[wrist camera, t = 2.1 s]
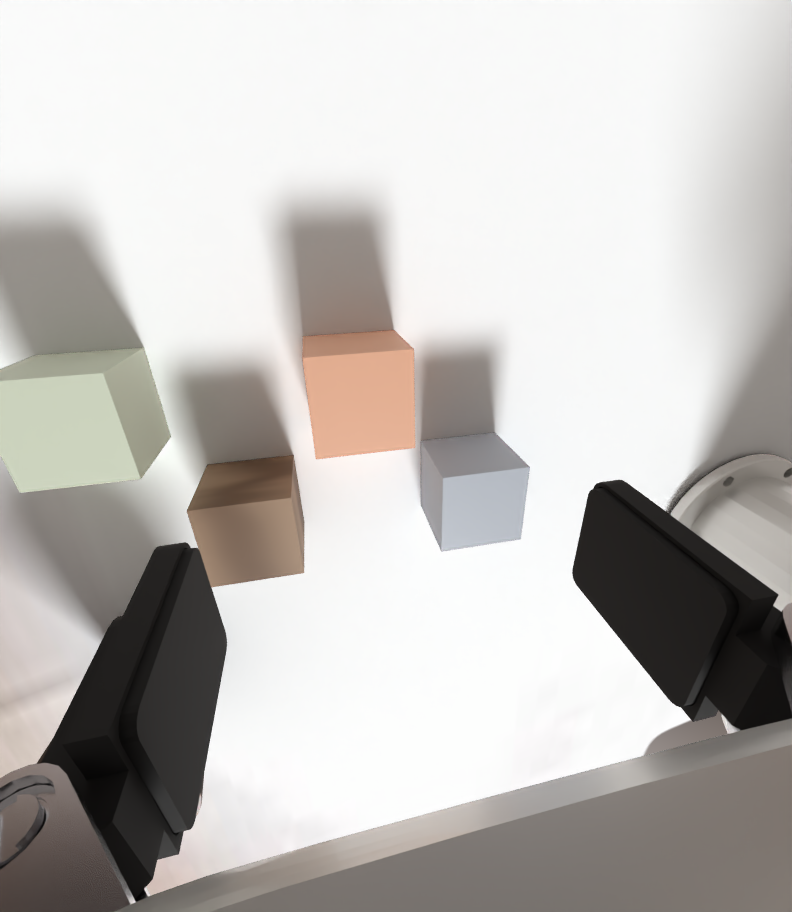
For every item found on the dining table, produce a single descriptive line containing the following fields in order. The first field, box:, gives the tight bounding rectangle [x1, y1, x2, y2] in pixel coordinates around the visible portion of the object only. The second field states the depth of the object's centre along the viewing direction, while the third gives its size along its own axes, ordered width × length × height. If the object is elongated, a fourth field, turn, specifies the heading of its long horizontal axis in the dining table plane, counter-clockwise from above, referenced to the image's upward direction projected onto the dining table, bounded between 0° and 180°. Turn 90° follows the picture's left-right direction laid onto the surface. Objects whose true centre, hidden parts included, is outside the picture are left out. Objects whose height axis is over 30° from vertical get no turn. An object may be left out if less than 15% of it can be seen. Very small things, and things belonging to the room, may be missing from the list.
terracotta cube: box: [302, 330, 415, 459], centre depth 22 cm, size 5×5×5 cm
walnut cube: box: [187, 455, 304, 587], centre depth 24 cm, size 5×5×5 cm
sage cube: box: [0, 348, 171, 493], centre depth 20 cm, size 5×5×5 cm
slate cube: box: [421, 432, 530, 551], centre depth 26 cm, size 5×5×5 cm
